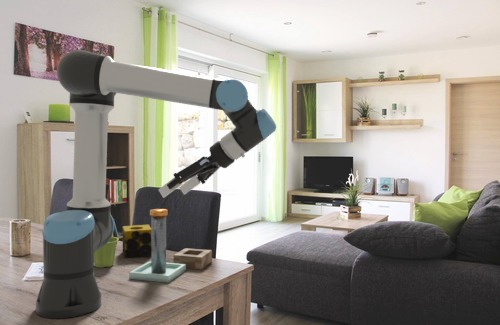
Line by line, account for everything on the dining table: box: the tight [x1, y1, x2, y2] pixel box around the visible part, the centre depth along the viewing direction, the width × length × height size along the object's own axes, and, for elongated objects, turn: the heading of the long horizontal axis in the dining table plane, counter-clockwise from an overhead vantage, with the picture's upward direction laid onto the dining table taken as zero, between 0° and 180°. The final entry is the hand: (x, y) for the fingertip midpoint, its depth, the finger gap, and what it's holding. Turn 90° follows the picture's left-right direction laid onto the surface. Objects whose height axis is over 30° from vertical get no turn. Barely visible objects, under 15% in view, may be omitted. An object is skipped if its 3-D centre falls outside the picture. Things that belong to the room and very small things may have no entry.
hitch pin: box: [149, 208, 168, 274], centre depth 135 cm, size 5×5×20 cm
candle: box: [122, 224, 151, 259], centre depth 161 cm, size 10×10×10 cm
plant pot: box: [94, 236, 120, 268], centre depth 145 cm, size 9×9×9 cm
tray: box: [128, 260, 187, 283], centre depth 136 cm, size 13×13×2 cm
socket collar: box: [173, 247, 213, 270], centre depth 148 cm, size 10×10×4 cm
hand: (172, 192), depth 128 cm, fingers open, 13 cm apart
